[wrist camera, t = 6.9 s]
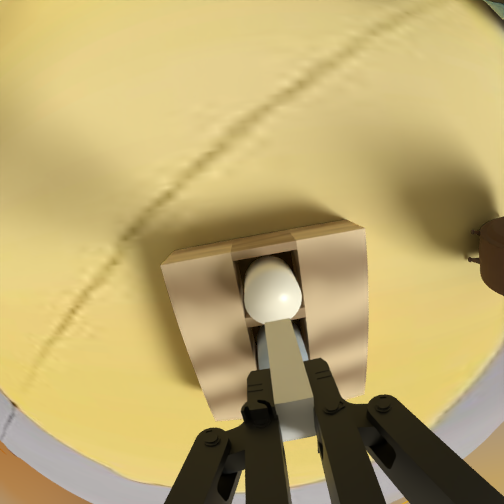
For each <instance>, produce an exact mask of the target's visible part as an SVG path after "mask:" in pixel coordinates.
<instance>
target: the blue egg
mask: <svg viewBox="0 0 504 504" xmlns="http://www.w3.org/2000/svg"><path fill="white" fill-rule="evenodd" d="M291 323H292V326H293V329H294V333H295V336H296V339H297V343H298V346H299V349H300V353H301V356H302V359H303V361H307V360H308V355H307V352H306V349H305V346H304V343H303V340H302V337H301V334H300V331H299V328H298V326H297V325H296V324H295V323H294V322H292V321H291ZM257 348H258V363H259V369H260V370H262V369H268V368H270V364H269V356H268V348H267V340H266V332H265V325H262V326H261V328H260V329H259V331H258V334H257Z"/></svg>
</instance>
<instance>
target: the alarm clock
mask: <svg viewBox="0 0 504 504" xmlns="http://www.w3.org/2000/svg"><path fill="white" fill-rule="evenodd" d="M471 233H472V234H477V235H479V236H480V243H479V258H471V257H469V258H468V261H469V262H471V261H472V262H475V263H478V264H480V273H481V277H482V280H483V281H484V283H485V284H486V285H487V286H488V287H489V288H491V289H492V290H493V291H495V292H497V293H499V294H501V295H503V296H504V217H500V218H496V219H493V220H491V221H488V222H487V223H485V224H484V225H483V226H482V227H481V229H480V231H475V230H473V229H472V230H471Z"/></svg>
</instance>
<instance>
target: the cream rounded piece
mask: <svg viewBox="0 0 504 504" xmlns="http://www.w3.org/2000/svg"><path fill="white" fill-rule="evenodd" d="M301 302H302V294H301V290H300V288H299V285H298V283H297V281H296V279H295V277H294V275H293V273H292V270H291V268H290V267H289V265H288V264H287V263H286V262H285V261H284V260H282V259H280V258H278V257H274V256H265V257H261V258H259V259H257V260H255V261H254V262H252V263H251V264H250V266H249V267H248V269H247V271H246V273H245V288H244V303H245V308H246V310H247V312H248V314H249V315H250V316H251V317H252V318H253V319H254V320H256V321H257V322H259V323H262V324H264V323H265V322H271V321H276V320H282V319H287V318H290V319H291V318H292V317H293V316H294V315H295V314H296V313H297V312H298V310H299V308H300V306H301Z"/></svg>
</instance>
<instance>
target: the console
mask: <svg viewBox="0 0 504 504" xmlns="http://www.w3.org/2000/svg"><path fill="white" fill-rule="evenodd" d="M285 251H291V256H292V262H293V269H294V277H295V279H296V281H297V283H298V285H299V288H300V290H301V294H302V302H301V306H300V308H299V310H298V312H297V313H296V314H295V315H294V316H293V317H292V318H291V319H290V320H293V319H299V318H300V323H301V331H302V340H303V343H304V346H305V349H306V352H307V355H308V360H312V359H316V358H322V359H323V360H325V361H326V362H327V363H328V365H329V368H330V371H331V373H332V376H333V378H334V380H335V383H336V385H337V387H338V390H339V392H340V395H341V397H342V398H343V399H344V400H346V399H350V398H354V397H357V396H361V395H364V393H365V382H366V369H367V352H368V315H369V303H368V265H367V248H366V234H365V228H363V227H361V226H359V225H357V224H355V223H353V222H350V221H348V220H340V221H334V222H328V223H322V224H317V225H311V226H305V227H299V228H293V229H288V230H282V231H277V232H271V233H265V234H260V235H254V236H249V237H243V238H238V239H233V240H227V241H222V242H216V243H211V244H206V245H201V246H195V247H190V248H185V249H180V250H175V251H173V252H172V253H171V254H170V256H169V257H168V258H167V259H166V260H165V261H164V262H163V263H162V264H161V265H160V266H161V270H162V273H163V277H164V280H165V284H166V287H167V291H168V294H169V297H170V300H171V304H172V307H173V310H174V313H175V316H176V319H177V322H178V325H179V328H180V331H181V334H182V337H183V340H184V343H185V346H186V348H187V351H188V354H189V357H190V359H191V362H192V365H193V367H194V370H195V373H196V375H197V378H198V380H199V383H200V385H201V388H202V390H203V393H204V395H205V398H206V400H207V403H208V405H209V407H210V410H211V412H212V414H213V417H214V419H215V421H226V420H237V419H243V417H242V414H241V408H242V406H243V405H244V404H245V402H247V377H248V375H249V374H250V372H251V371H255V370H260V369H259V363H258V348H257V345H255V340H254V336H253V331H252V327H255V326H260V325H265V324H262V323H259V322H257V321H256V320H254V319H253V318H252V317H251V316H250V315H249V314H248V312H247V310H246V308H245V303H244V289H243V284H242V280H241V275H240V270H239V265H238V260H241V259H247V258H252V257H258V256H263V255H269V254H274V253H280V252H285Z"/></svg>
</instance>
